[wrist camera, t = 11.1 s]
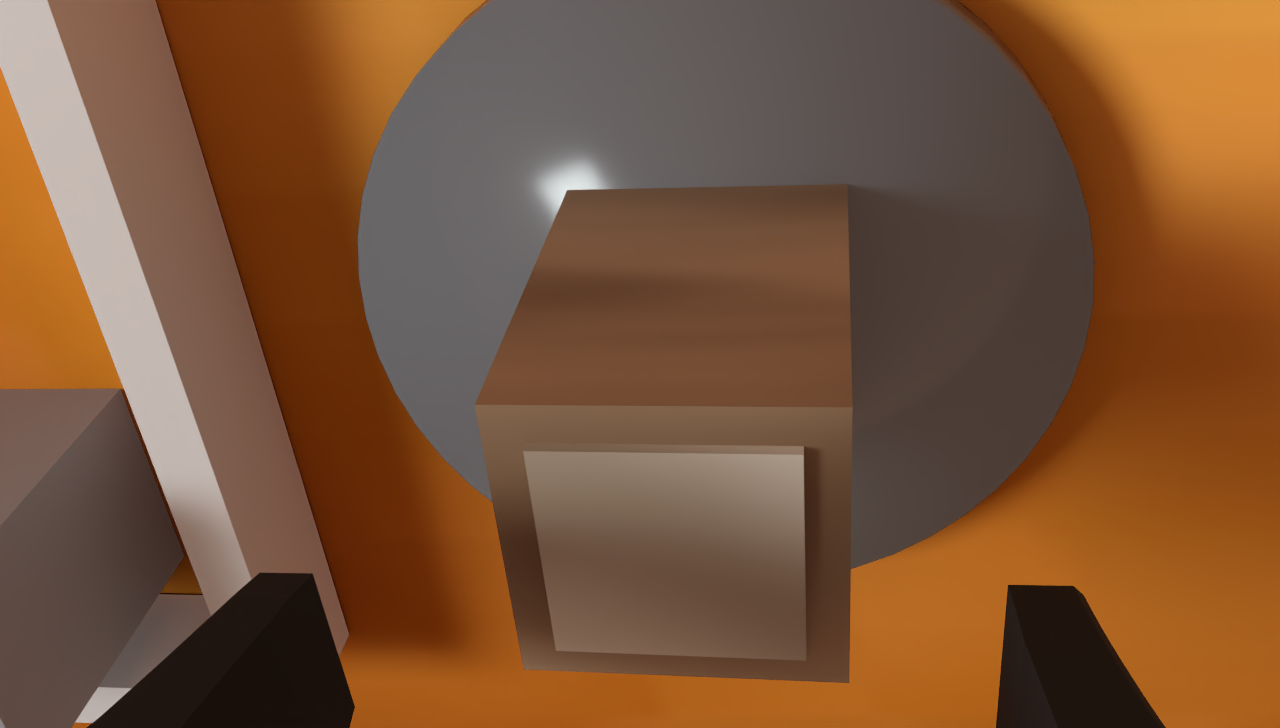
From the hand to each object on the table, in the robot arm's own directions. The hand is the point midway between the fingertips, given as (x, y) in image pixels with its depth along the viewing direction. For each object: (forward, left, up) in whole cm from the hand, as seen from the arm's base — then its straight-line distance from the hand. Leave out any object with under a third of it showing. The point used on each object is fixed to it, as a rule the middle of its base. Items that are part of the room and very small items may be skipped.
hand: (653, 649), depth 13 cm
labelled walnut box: (0, 0, -7) cm, 7 cm away
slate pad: (0, 0, -8) cm, 8 cm away
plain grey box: (-4, +13, -8) cm, 16 cm away
